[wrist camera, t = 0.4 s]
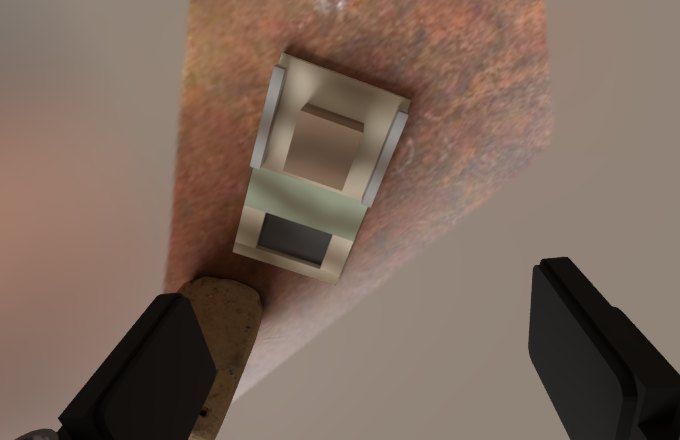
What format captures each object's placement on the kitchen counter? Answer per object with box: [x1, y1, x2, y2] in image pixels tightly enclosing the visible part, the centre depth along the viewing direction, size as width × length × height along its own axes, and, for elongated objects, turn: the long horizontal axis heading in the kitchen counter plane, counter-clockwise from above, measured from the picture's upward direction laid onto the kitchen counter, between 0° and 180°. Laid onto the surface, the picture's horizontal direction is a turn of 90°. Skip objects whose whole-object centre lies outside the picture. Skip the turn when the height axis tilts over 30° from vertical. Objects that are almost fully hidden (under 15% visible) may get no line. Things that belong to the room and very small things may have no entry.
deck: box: [233, 53, 411, 285], centre depth 41 cm, size 23×13×3 cm, turn 161°
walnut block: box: [283, 103, 364, 191], centre depth 38 cm, size 6×6×4 cm
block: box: [176, 276, 263, 440], centre depth 42 cm, size 11×8×20 cm
